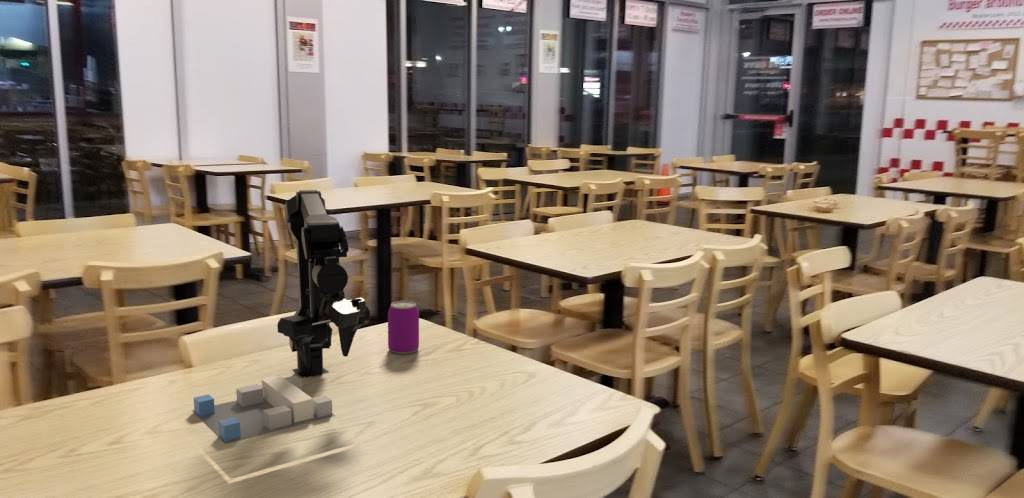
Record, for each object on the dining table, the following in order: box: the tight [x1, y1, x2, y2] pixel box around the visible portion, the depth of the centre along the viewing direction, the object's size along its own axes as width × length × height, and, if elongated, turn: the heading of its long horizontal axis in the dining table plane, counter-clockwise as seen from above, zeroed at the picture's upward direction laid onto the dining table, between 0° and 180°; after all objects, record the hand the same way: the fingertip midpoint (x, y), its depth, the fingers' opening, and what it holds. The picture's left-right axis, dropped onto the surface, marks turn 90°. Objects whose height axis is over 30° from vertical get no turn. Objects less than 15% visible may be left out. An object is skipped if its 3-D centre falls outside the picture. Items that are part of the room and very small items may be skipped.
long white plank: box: [261, 374, 314, 423], centre depth 166 cm, size 16×4×4 cm, turn 39°
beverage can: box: [387, 300, 420, 355], centre depth 204 cm, size 8×8×12 cm
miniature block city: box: [191, 375, 336, 445], centre depth 163 cm, size 19×22×4 cm
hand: (326, 361), depth 163 cm, fingers open, 9 cm apart
